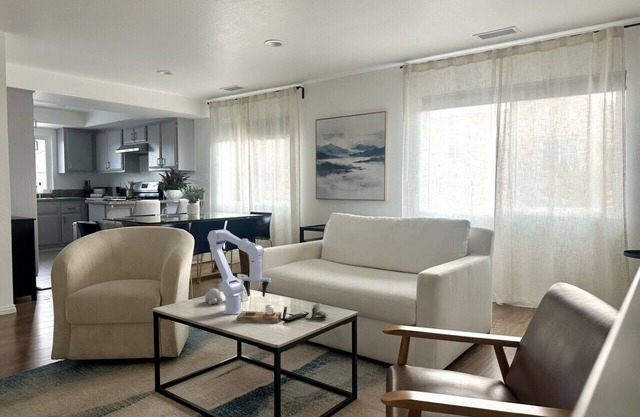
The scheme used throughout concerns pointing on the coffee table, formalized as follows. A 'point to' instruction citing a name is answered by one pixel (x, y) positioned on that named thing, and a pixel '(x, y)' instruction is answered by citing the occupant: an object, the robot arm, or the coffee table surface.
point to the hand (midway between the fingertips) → (256, 296)
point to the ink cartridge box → (243, 293)
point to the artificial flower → (314, 312)
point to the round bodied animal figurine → (213, 296)
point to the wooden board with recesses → (258, 317)
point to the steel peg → (269, 310)
